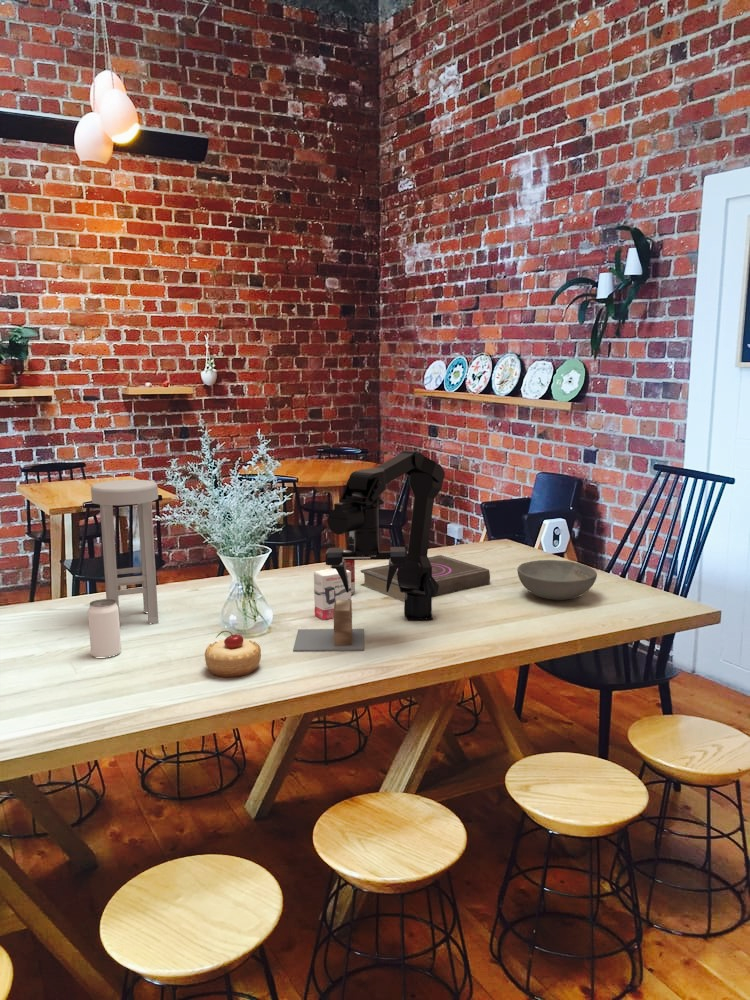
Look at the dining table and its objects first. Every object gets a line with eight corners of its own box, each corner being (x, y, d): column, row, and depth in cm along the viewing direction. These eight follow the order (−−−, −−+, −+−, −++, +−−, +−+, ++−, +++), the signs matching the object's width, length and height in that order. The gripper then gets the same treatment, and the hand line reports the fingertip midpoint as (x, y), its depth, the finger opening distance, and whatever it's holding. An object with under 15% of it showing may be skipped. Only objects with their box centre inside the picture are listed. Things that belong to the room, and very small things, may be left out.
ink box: (323, 620, 201) (322, 575, 199) (314, 615, 205) (313, 571, 203) (352, 614, 206) (351, 570, 204) (342, 609, 210) (341, 566, 208)
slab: (352, 632, 191) (351, 599, 190) (351, 645, 182) (351, 611, 181) (335, 632, 191) (334, 599, 189) (334, 645, 182) (333, 611, 181)
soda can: (359, 594, 223) (359, 552, 221) (339, 598, 219) (338, 556, 217) (346, 589, 229) (346, 548, 227) (326, 593, 225) (325, 551, 223)
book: (440, 570, 250) (440, 554, 249) (490, 586, 232) (490, 569, 232) (360, 586, 233) (360, 569, 232) (407, 605, 215) (407, 587, 214)
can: (97, 648, 182) (94, 598, 180) (125, 648, 182) (122, 598, 180) (86, 658, 176) (82, 606, 174) (115, 659, 176) (112, 606, 174)
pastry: (265, 678, 166) (265, 638, 164) (207, 684, 163) (206, 643, 161) (256, 656, 177) (256, 618, 175) (202, 661, 174) (201, 622, 172)
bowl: (569, 583, 233) (570, 557, 231) (611, 603, 213) (612, 574, 212) (504, 590, 226) (504, 563, 225) (541, 612, 207) (542, 582, 205)
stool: (168, 624, 199) (160, 486, 193) (102, 633, 193) (93, 490, 187) (159, 607, 213) (152, 477, 207) (98, 614, 207) (89, 481, 201)
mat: (364, 630, 194) (364, 628, 193) (364, 650, 180) (364, 649, 180) (298, 630, 193) (298, 629, 193) (293, 651, 180) (293, 649, 179)
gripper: (406, 518, 190) (406, 581, 193) (327, 519, 190) (329, 582, 193) (407, 528, 179) (408, 595, 182) (324, 529, 179) (326, 596, 182)
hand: (367, 591), depth 185 cm, fingers open, 9 cm apart
